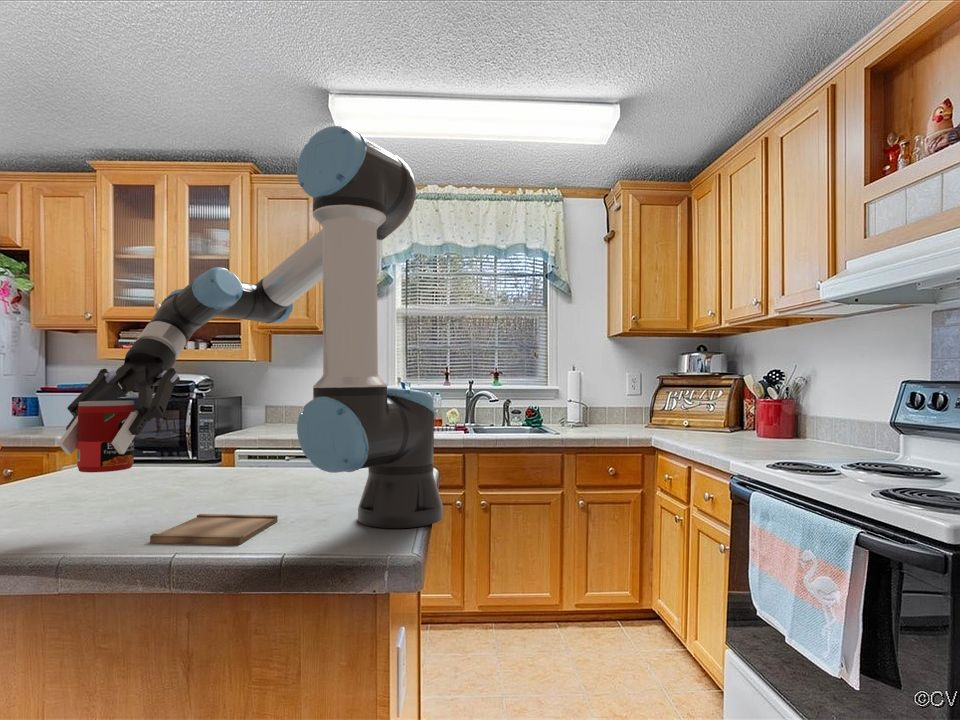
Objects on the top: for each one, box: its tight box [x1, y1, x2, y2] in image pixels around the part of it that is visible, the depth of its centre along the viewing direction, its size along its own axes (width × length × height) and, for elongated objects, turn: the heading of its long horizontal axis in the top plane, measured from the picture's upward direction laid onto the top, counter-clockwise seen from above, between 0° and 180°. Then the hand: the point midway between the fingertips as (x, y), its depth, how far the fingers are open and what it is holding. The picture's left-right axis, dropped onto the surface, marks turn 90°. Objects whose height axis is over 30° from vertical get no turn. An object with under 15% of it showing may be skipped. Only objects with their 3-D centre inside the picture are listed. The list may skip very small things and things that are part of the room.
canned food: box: [76, 400, 136, 473], centre depth 93 cm, size 8×8×11 cm
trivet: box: [149, 513, 279, 546], centre depth 94 cm, size 14×14×1 cm
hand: (91, 448), depth 90 cm, fingers closed on canned food, 8 cm apart
